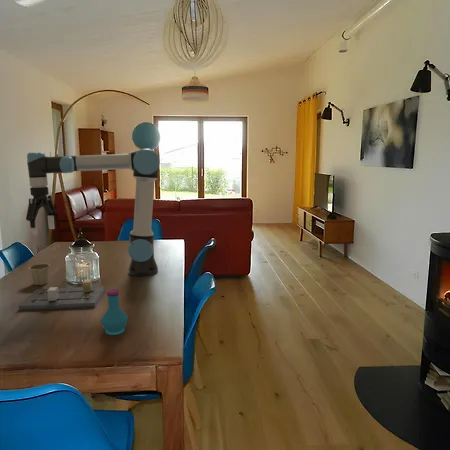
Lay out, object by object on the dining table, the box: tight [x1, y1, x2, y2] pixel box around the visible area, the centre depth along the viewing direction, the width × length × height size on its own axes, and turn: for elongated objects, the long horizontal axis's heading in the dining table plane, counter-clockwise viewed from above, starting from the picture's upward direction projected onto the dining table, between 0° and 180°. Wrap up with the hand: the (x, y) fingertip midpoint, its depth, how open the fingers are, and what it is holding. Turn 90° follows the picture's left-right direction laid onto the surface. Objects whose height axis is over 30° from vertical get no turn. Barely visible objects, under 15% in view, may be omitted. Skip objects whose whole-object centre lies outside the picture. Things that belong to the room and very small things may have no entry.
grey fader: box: [47, 286, 59, 301], centre depth 166 cm, size 3×4×4 cm
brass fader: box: [82, 278, 93, 292], centre depth 176 cm, size 3×4×4 cm
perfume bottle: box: [100, 288, 129, 336], centre depth 141 cm, size 9×9×15 cm
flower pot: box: [28, 263, 51, 286], centre depth 193 cm, size 9×9×9 cm
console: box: [18, 286, 105, 311], centre depth 172 cm, size 30×20×2 cm, turn 96°
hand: (43, 231), depth 186 cm, fingers open, 13 cm apart
